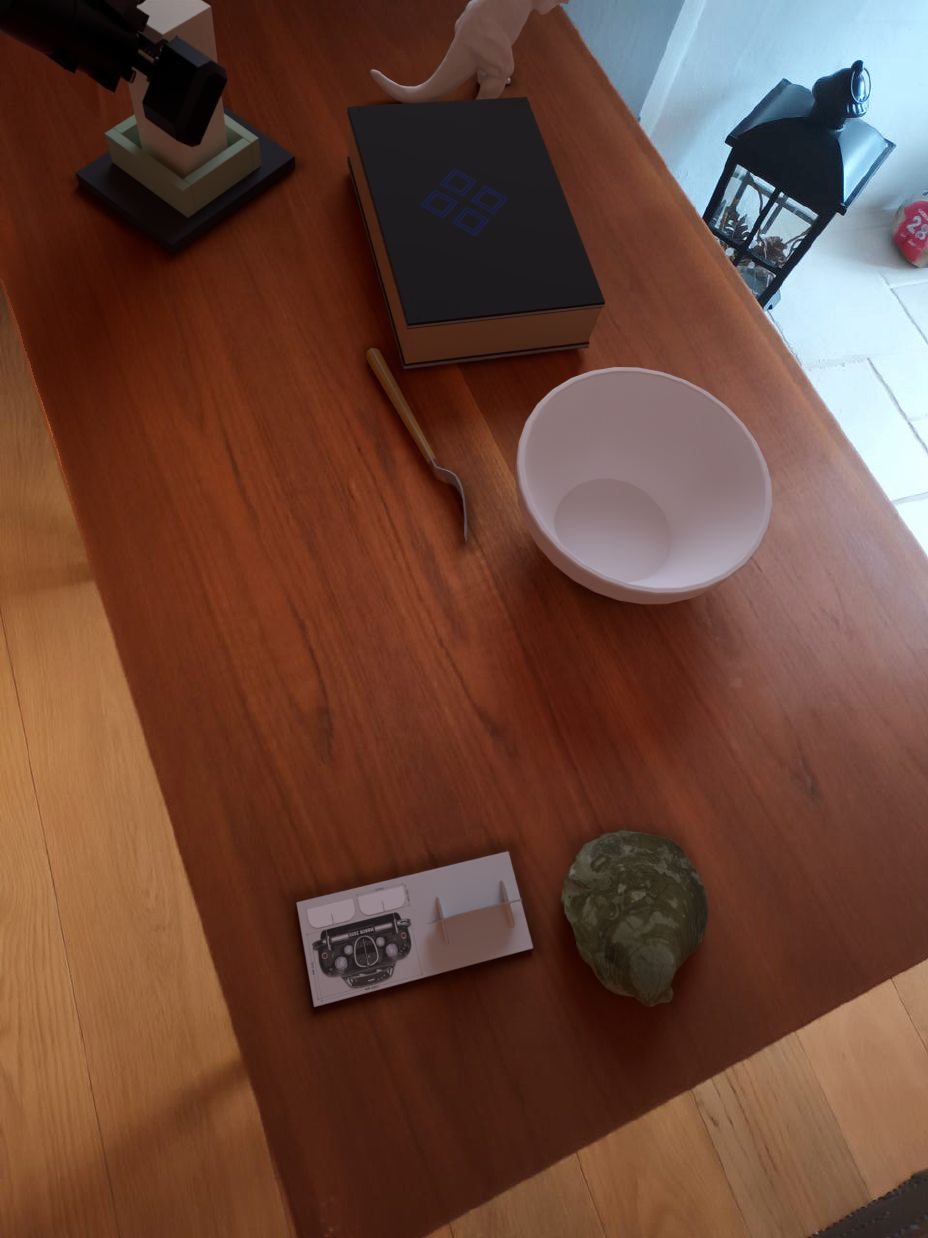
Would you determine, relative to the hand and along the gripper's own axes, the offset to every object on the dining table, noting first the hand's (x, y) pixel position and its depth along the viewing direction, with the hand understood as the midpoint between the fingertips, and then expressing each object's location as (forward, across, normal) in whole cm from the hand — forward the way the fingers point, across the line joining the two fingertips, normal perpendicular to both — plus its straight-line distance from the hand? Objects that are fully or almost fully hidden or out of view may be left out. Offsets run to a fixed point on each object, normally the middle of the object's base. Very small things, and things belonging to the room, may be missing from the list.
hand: (185, 82), depth 75 cm
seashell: (-14, -71, +27) cm, 77 cm away
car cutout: (-22, -59, +34) cm, 72 cm away
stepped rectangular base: (+5, 0, +7) cm, 9 cm away
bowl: (+2, -52, +10) cm, 53 cm away
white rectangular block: (+4, 0, +6) cm, 7 cm away
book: (+13, -25, 0) cm, 28 cm away
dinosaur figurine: (+25, -11, -13) cm, 31 cm away
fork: (0, -35, +13) cm, 37 cm away
